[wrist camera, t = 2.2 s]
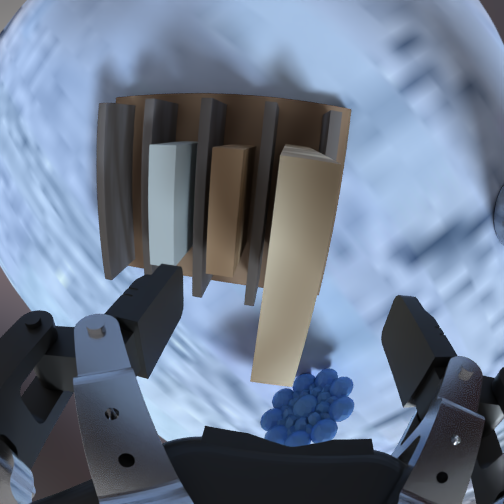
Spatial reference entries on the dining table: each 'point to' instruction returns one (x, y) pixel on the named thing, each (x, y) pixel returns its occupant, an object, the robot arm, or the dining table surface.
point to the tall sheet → (294, 260)
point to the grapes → (309, 409)
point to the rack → (202, 170)
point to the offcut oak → (228, 207)
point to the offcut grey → (171, 200)
